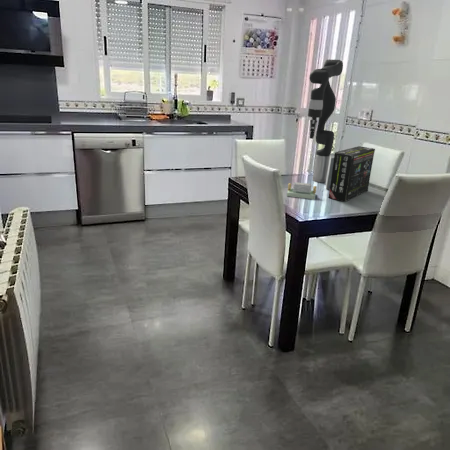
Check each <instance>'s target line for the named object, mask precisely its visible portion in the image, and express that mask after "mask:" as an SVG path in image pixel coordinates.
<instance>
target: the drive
mask: <svg viewBox="0 0 450 450" xmlns="http://www.w3.org/2000/svg"><path fill="white" fill-rule="evenodd" d="M292 188H293V193H301V194H310V193H311V191H312V183H308V182H297V181H294V182H293V185H292Z"/></svg>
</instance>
